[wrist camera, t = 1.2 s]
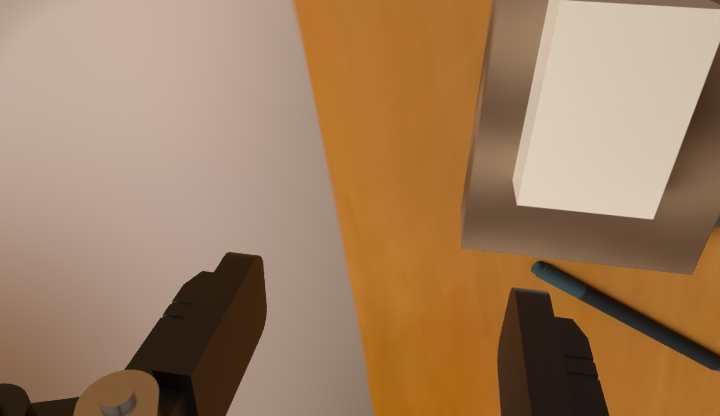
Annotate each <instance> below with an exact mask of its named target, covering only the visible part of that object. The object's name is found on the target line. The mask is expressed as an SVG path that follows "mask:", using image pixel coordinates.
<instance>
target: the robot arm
mask: <svg viewBox="0 0 720 416" xmlns="http://www.w3.org/2000/svg"><path fill="white" fill-rule="evenodd" d="M266 312H267V304H266V292H265V280H264V269H263V260H262V258H261V257H260V256H258V255H249V254H241V253H233V252H228V253H227V254H226V255H225V256H224V257H223V259H222V260H221V262H220V264H219V265H218V267H217V269H216V270H215V271H214V272H206V271H202V272H200V273H199V274H198V275H196V276H195V277H193V278H192V279H191V280H189V281H188V282H186V283H185V284H184V285H183V286H182V288H181V289H180V291H179V292H178V293H177V295H176V296H175V298H174V299H173V301H172V304H170V305H169V306H168V308H167V309H166V311H165V313H164V314H163V318H160V320H159V321H158V322H157V324H156V325H155V327H154V328H153V329H152V331H151V332H150V334H149V335H148V337H147V338H146V340H145V341H144V342H143V344H142V345H141V347H140V348H139V350H138V351H137V353H136V354H135V355H134V357H133V358H132V360H131V361H130V363H129V364H128V366H127V367H126V368H125V369H124V370H122V371H117V372H114V373H111V374H108V375H106V376H104V377H102V378H100V379H98V380H97V381H95V382H94V383H93V384H91V385H90V386H89V387H88V388H87V389H86V390H85V391H84V392H83V393H82V395H81V396H80V397H75V398H69V399H61V400H53V401H45V402H37V403H31V402H30V400H29V397H28V395H27V394H26V392H25V390H23V389H22V388H21V387H19V386H17V385H13V384H5V383H4V384H0V416H226V414H227V411H228V409H229V407H230V405H231V402H232V400H233V398H234V396H235V393H236V391H237V389H238V387H239V384H240V382H241V380H242V378H243V375H244V373H245V371H246V369H247V366H248V364H249V362H250V360H251V357H252V355H253V353H254V351H255V348H256V346H257V344H258V342H259V339H260V337H261V335H262V332H263V329H264V326H265V321H266ZM497 364H498V380H499V393H500V406H501V416H609V413H608V409H607V406H606V402H605V398H604V395H603V391H602V388H601V384H600V381H599V380H598V373H597V370H596V366H595V363H593V356H592V352H591V348H590V345H589V341H588V338H587V337H586V336H585V334H584V333H583V332H582V331H581V329H580V328H579V327H578V326H577V324H576V323H575V322H574V321H573V319H568V318H560V317H554V313H553V308H552V303H551V299H550V295H549V293H548V292H546V291H538V290H530V289H522V288H514V287H513V288H512V289H511V291H510V295H509V299H508V304H507V308H506V312H505V317H504V321H503V326H502V330H501V335H500V339H499V346H498V361H497Z"/></svg>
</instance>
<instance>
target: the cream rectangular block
mask: <svg viewBox="0 0 720 416" xmlns="http://www.w3.org/2000/svg"><path fill="white" fill-rule="evenodd" d="M719 43H720V5H719V4H717V3H715V2H713V1H711V0H549V2H548V7H547V12H546V17H545V22H544V27H543V32H542V37H541V42H540V47H539V51H538V56H537V61H536V66H535V71H534V76H533V81H532V86H531V91H530V96H529V101H528V106H527V111H526V116H525V121H524V126H523V130H522V135H521V140H520V145H519V150H518V155H517V160H516V165H515V170H514V175H513V186H514V192H515V197H516V203H517V205H520V206H530V207H539V208H549V209H558V210H568V211H577V212H587V213H596V214H606V215H615V216H625V217H634V218H644V219H654V216H655V214H656V211H657V208H658V206H659V203H660V200H661V198H662V195H663V192H664V190H665V187H666V184H667V182H668V179H669V176H670V174H671V171H672V168H673V165H674V163H675V160H676V157H677V155H678V152H679V149H680V147H681V144H682V141H683V139H684V136H685V133H686V131H687V128H688V125H689V123H690V120H691V117H692V115H693V112H694V109H695V107H696V104H697V101H698V99H699V96H700V93H701V91H702V88H703V85H704V83H705V80H706V77H707V75H708V72H709V69H710V67H711V64H712V61H713V59H714V56H715V53H716V51H717V48H718V45H719Z"/></svg>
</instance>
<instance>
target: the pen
mask: <svg viewBox="0 0 720 416" xmlns="http://www.w3.org/2000/svg"><path fill="white" fill-rule="evenodd" d="M531 271H532V273H534V274H536V276H537V277H538V278H540V279H542V280H544V281H546V282H548V283H550V284H552V285H553V286H555V287H557V288H559V289H561V290H563V291H565V292H567V293H568V294H570V295H572V296H574V297H576V298H578V299H580V300H582V301H583V302H585V303H587V304H589V305H591V306H593V307H595V308H597V309H599V310H600V311H602V312H604V313H606V314H608V315H610V316H612V317H614V318H615V319H617V320H619V321H621V322H623V323H625V324H627V325H629V326H630V327H632V328H634V329H636V330H638V331H640V332H642V333H644V334H645V335H647V336H649V337H651V338H653V339H655V340H657V341H659V342H660V343H662V344H664V345H666V346H668V347H670V348H672V349H674V350H676V351H677V352H679V353H681V354H683V355H685V356H687V357H689V358H691V359H692V360H694V361H696V362H698V363H700V364H702V365H704V366H706V367H707V368H709V369H711V370H716V371H720V357H719V356H717V355H715V354H713V353H712V352H710V351H708V350H706V349H704V348H702V347H700V346H699V345H697V344H695V343H693V342H691V341H689V340H687V339H686V338H684V337H682V336H680V335H678V334H676V333H674V332H672V331H671V330H669V329H667V328H665V327H663V326H661V325H659V324H658V323H656V322H654V321H652V320H650V319H648V318H646V317H645V316H643V315H641V314H639V313H637V312H635V311H633V310H631V309H630V308H628V307H626V306H624V305H622V304H620V303H618V302H617V301H615V300H613V299H611V298H609V297H607V296H605V295H604V294H602V293H600V292H598V291H596V290H594V289H592V288H591V287H589V286H587V285H585V284H583V283H581V282H579V281H577V280H576V279H574V278H572V277H570V276H568V275H566V274H564V273H563V272H561V271H559V270H557V269H555V268H553V267H551V266H550V265H548V264H546V263H544V264H543V263H541V262H539V261H538V262H536V263H535V264H534V265H533V266H532V268H531Z"/></svg>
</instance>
